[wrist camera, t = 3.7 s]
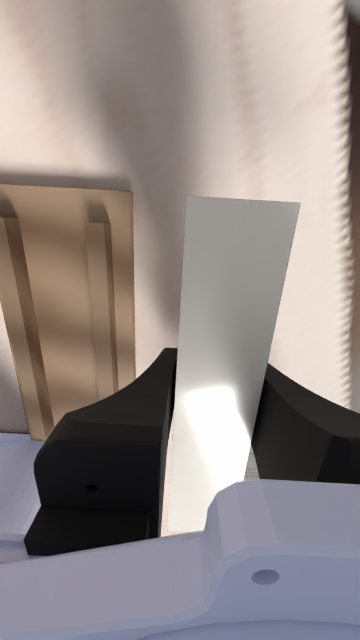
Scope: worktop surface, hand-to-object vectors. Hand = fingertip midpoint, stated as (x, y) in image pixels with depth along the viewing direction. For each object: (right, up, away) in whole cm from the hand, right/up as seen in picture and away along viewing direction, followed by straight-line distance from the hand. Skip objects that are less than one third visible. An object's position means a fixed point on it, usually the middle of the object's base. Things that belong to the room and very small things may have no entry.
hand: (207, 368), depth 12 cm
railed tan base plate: (-10, +1, +9) cm, 13 cm away
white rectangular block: (0, +1, +2) cm, 2 cm away
